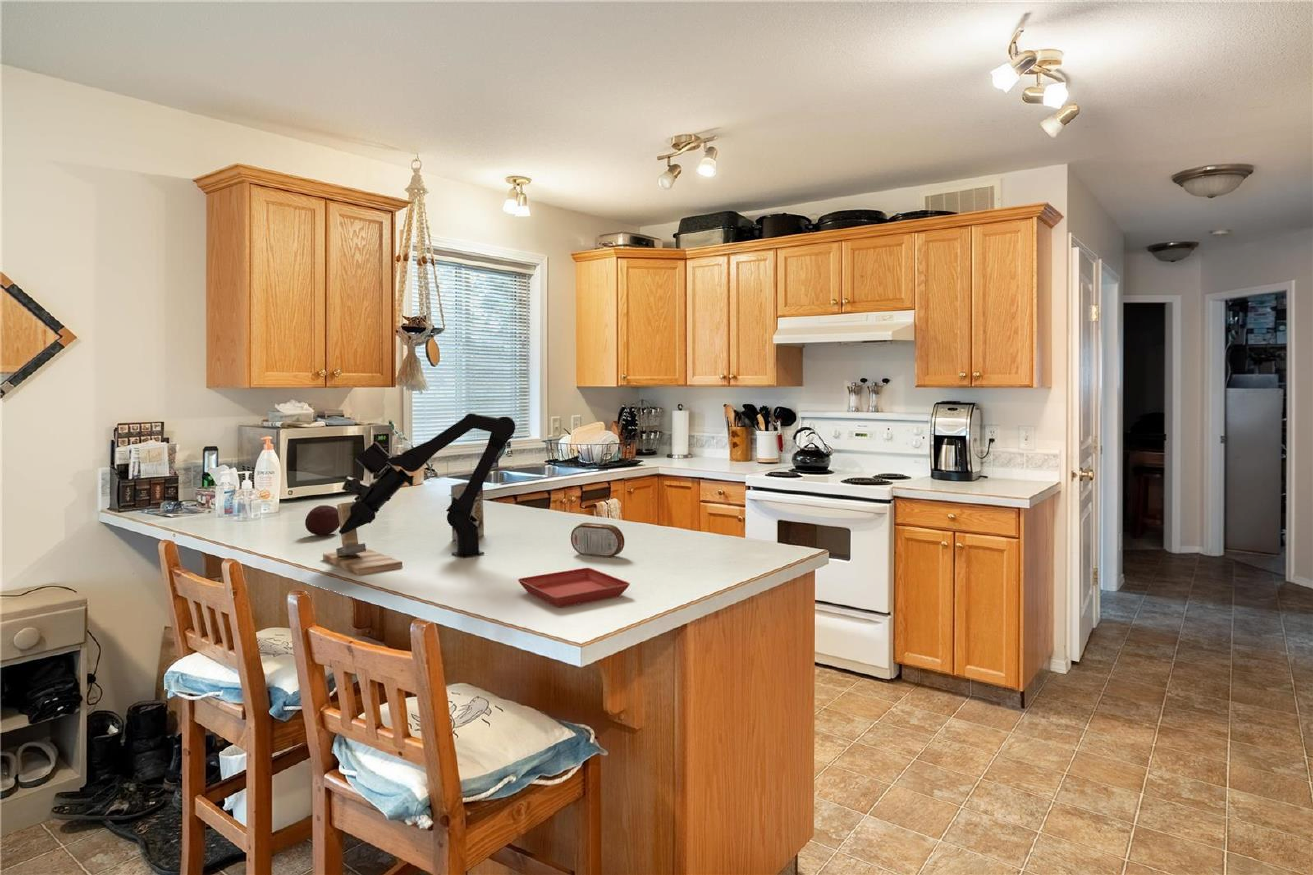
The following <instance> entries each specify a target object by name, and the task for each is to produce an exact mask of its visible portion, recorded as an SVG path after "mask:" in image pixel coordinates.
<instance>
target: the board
mask: <svg viewBox="0 0 1313 875" xmlns="http://www.w3.org/2000/svg"><path fill="white" fill-rule="evenodd" d="M323 559H324V560H323ZM322 560H323V561H325V560H326V562H328V563H330V564H332V563H333V564H332V565H334V564H335V566H337V567H339V568H342V569H343V570H345V571H348V572H350V573H352V574H355V575H356V576H361V575H368V574H372V573H373V574H375V573H379V572H386V571H390V570H396V569H402V568H403V561H401V560H399V559H396V558H393V557H390V556H388V555H385V554H382V553H380V552H377V551H375V550H372V549H369V548H367V547H366V551H364V552H360V553H356V554H350V555H343V556H337V552H336V551H332V552H325V553H322Z"/></svg>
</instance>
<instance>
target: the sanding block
mask: <svg viewBox="0 0 1313 875" xmlns="http://www.w3.org/2000/svg"><path fill="white" fill-rule="evenodd" d="M352 504H353V501H351V502H343V503H342V502H341V503H339V504H337V505H336V507H337V508H336V509H338V516H339V523H340V526H339V528H340V529H341V527H342V526H343V525H344V523H345V522H346V520H347V519H348V517H349V516H350V507H351V505H352ZM340 529H339V530H340ZM340 537H341V546H342V547H338V548H336V549H335V550H336V551H335V552H337V556H343V555H350V554H356V553H360V552H364V551H366V548H367V546H366V543H365V542H364V543H359V538H358V532H357V528H355V529H353V530H351V531H349V532H346V533H344V534H340Z"/></svg>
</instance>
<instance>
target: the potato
mask: <svg viewBox="0 0 1313 875" xmlns="http://www.w3.org/2000/svg"><path fill="white" fill-rule="evenodd" d="M304 523H305V524H304V525H305V528H306V529H307V531H308V532H309V533H310V534H312V535H315V536H319V537H320V536H327V535H330V534H332V533H334V532H336V531H337V530H338V529H339V528H340V523H339V516H338V508H336V507H335V506H332V505H328V504H327V505H326V504H325V505H318V506H315V507H314V508H312V509H311V510H310V511H309V512H308V514H307V515H306V518H305V521H304Z"/></svg>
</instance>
